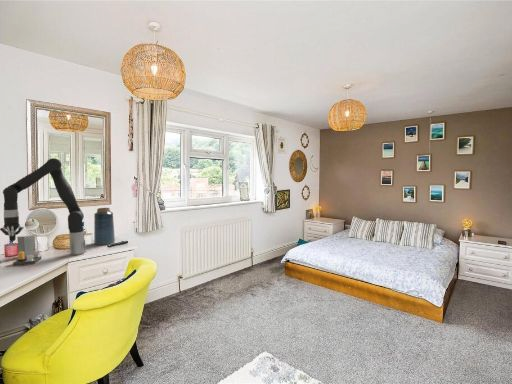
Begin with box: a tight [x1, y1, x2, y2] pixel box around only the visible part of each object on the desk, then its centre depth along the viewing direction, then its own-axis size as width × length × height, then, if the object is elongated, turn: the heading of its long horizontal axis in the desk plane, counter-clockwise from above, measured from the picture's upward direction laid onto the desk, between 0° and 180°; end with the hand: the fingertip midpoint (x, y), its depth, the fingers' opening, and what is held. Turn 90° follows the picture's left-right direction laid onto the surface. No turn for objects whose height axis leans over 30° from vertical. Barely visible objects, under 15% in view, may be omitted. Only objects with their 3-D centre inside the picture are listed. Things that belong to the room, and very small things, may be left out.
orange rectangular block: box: [15, 252, 27, 261], centre depth 185 cm, size 4×4×5 cm
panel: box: [12, 250, 42, 266], centre depth 186 cm, size 12×12×6 cm
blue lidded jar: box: [93, 207, 116, 246], centre depth 238 cm, size 16×16×32 cm
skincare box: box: [16, 234, 36, 257], centre depth 199 cm, size 8×7×16 cm
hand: (12, 241), depth 183 cm, fingers closed
